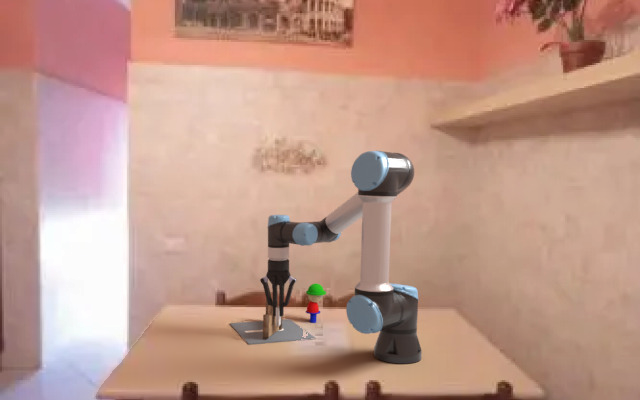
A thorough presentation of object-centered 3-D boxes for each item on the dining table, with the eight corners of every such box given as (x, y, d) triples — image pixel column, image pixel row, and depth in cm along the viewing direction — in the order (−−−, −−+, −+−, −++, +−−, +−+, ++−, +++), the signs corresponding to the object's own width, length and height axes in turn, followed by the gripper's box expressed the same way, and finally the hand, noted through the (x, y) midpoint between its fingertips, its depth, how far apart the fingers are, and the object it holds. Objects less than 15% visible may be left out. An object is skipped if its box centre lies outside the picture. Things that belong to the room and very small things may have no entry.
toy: (325, 324, 221) (326, 285, 220) (304, 323, 221) (305, 285, 220) (325, 319, 229) (326, 282, 228) (305, 318, 229) (306, 281, 228)
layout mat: (315, 338, 200) (315, 337, 200) (248, 344, 191) (248, 343, 191) (289, 319, 226) (289, 318, 226) (229, 324, 217) (229, 322, 217)
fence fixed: (282, 331, 209) (283, 306, 209) (276, 331, 208) (277, 307, 208) (270, 320, 224) (270, 298, 223) (264, 321, 223) (264, 298, 222)
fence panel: (274, 329, 209) (275, 307, 208) (279, 329, 208) (280, 307, 208) (261, 338, 196) (262, 315, 196) (267, 339, 196) (267, 315, 195)
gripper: (298, 257, 203) (297, 323, 205) (263, 256, 205) (263, 321, 206) (294, 260, 196) (293, 328, 197) (258, 259, 198) (257, 327, 199)
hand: (278, 325), depth 202 cm, fingers closed
